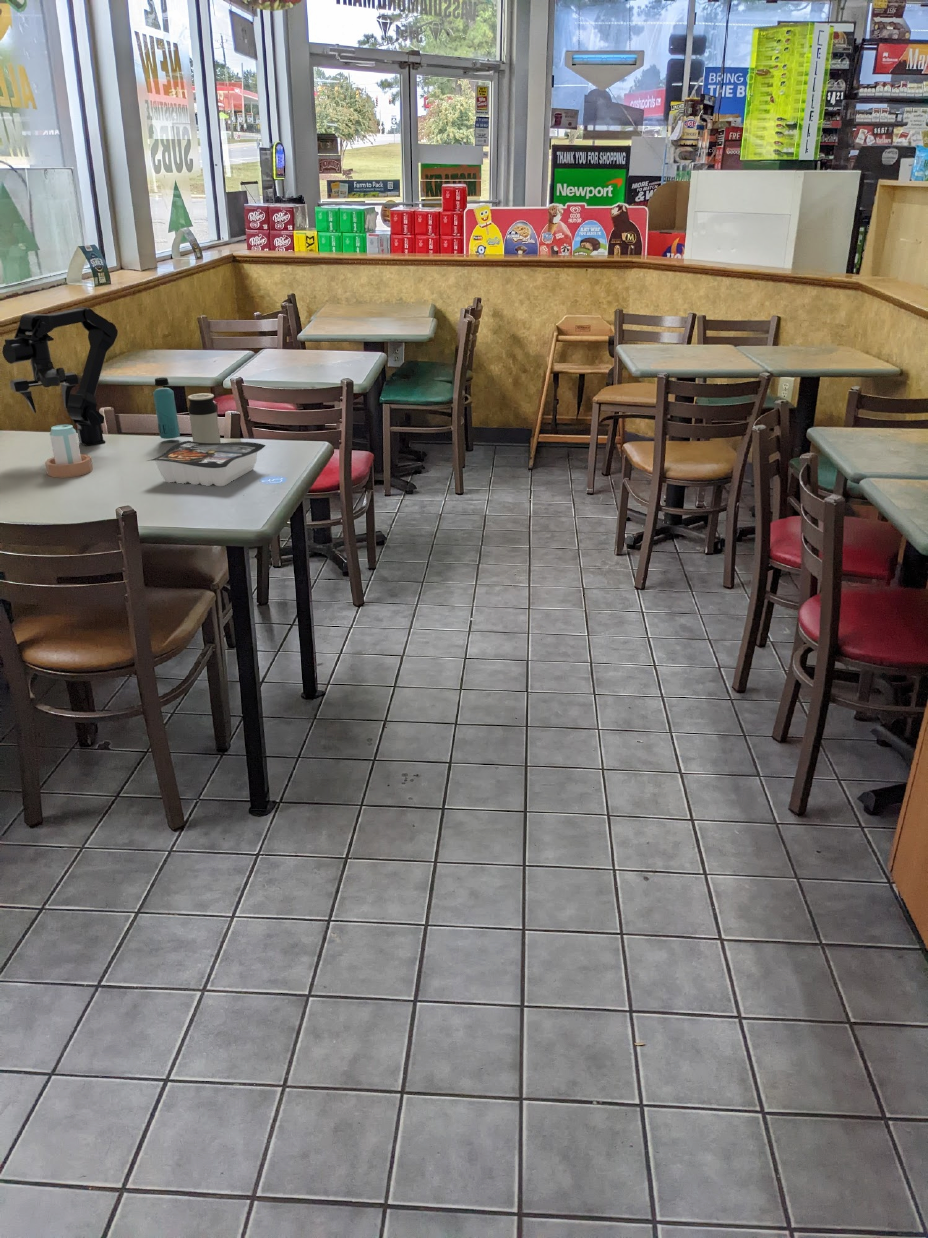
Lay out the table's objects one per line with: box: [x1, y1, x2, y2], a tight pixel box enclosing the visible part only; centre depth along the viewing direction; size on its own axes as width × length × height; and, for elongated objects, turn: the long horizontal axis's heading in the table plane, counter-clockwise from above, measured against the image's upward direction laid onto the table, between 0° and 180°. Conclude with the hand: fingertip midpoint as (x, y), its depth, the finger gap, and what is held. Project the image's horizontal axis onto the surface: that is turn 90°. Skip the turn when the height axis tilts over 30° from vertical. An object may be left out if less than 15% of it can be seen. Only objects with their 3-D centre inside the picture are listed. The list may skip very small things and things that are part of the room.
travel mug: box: [187, 392, 222, 443], centre depth 292 cm, size 8×8×18 cm
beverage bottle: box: [152, 376, 181, 440], centre depth 309 cm, size 6×7×20 cm
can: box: [49, 424, 82, 465], centre depth 281 cm, size 7×7×12 cm
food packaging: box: [147, 440, 267, 487], centre depth 275 cm, size 25×8×23 cm
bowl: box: [44, 453, 94, 479], centre depth 283 cm, size 12×12×4 cm
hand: (50, 410), depth 298 cm, fingers open, 9 cm apart
